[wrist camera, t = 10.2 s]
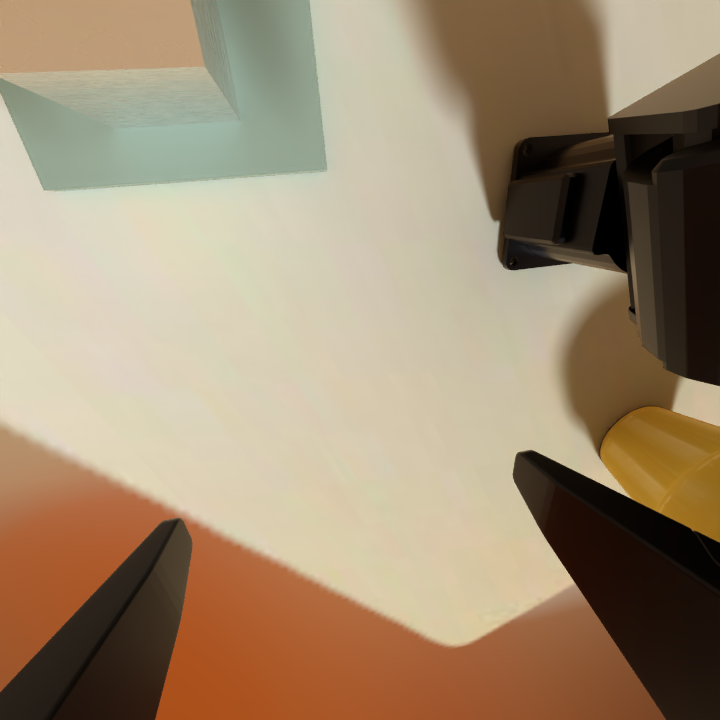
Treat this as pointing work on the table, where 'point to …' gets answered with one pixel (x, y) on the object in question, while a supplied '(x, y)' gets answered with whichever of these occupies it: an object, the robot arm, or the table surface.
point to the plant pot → (668, 465)
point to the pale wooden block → (122, 59)
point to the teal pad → (196, 141)
